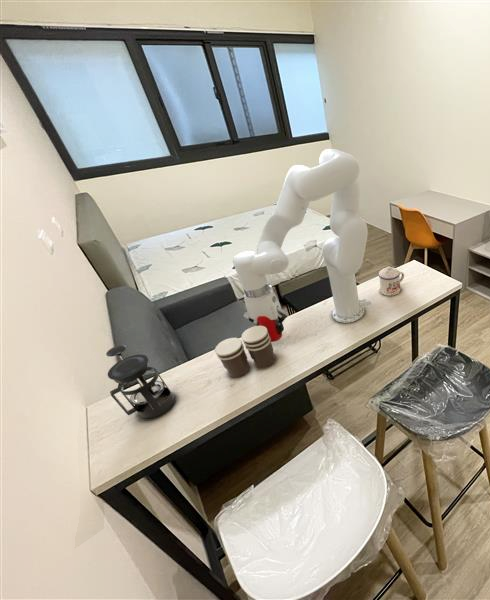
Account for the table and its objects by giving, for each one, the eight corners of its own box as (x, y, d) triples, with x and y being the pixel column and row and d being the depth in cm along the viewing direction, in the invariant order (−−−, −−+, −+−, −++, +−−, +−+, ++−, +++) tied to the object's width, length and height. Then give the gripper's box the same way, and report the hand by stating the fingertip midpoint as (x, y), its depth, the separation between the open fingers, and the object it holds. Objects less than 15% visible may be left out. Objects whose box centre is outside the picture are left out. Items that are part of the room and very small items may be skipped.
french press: (173, 387, 101) (135, 331, 88) (182, 403, 96) (144, 346, 82) (129, 411, 94) (81, 354, 81) (136, 430, 89) (86, 372, 76)
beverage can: (282, 342, 114) (273, 315, 107) (264, 345, 113) (253, 318, 106) (283, 331, 119) (275, 304, 112) (266, 334, 118) (256, 307, 111)
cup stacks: (275, 350, 113) (265, 322, 106) (279, 364, 107) (268, 336, 100) (226, 366, 107) (212, 338, 100) (227, 382, 102) (212, 353, 95)
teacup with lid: (387, 298, 136) (385, 275, 129) (376, 290, 142) (373, 266, 135) (410, 288, 141) (409, 265, 135) (398, 280, 148) (396, 258, 141)
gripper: (286, 283, 106) (298, 325, 117) (236, 283, 108) (253, 325, 118) (278, 295, 100) (291, 339, 110) (225, 295, 102) (243, 338, 112)
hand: (271, 331), depth 114 cm, fingers closed on beverage can, 6 cm apart
